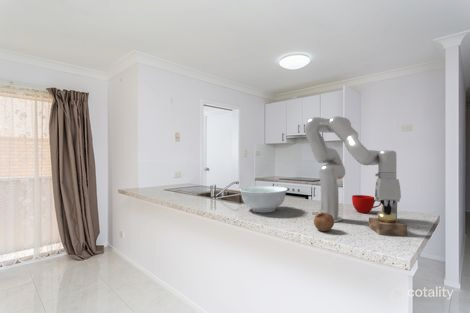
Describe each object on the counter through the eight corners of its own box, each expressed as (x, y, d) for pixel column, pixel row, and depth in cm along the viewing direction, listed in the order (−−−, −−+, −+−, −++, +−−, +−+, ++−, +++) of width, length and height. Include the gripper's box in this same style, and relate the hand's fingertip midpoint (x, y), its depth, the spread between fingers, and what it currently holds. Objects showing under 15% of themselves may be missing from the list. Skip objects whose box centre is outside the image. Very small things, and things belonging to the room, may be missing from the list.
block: (379, 234, 117) (379, 223, 117) (368, 227, 129) (368, 217, 129) (407, 235, 116) (407, 224, 116) (393, 228, 128) (393, 218, 128)
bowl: (229, 209, 171) (229, 188, 171) (262, 203, 192) (262, 184, 192) (264, 218, 147) (264, 193, 147) (297, 210, 168) (297, 188, 168)
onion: (321, 238, 121) (316, 221, 118) (313, 227, 130) (308, 211, 127) (339, 231, 121) (335, 214, 118) (330, 221, 130) (326, 205, 127)
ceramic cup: (383, 215, 153) (383, 199, 153) (352, 213, 160) (352, 197, 160) (380, 211, 165) (380, 196, 165) (351, 209, 172) (351, 194, 172)
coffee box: (381, 217, 150) (381, 190, 150) (393, 218, 148) (393, 190, 148) (384, 220, 142) (384, 192, 142) (397, 221, 140) (397, 192, 140)
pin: (381, 232, 119) (381, 215, 119) (374, 227, 127) (375, 211, 127) (399, 233, 118) (399, 215, 118) (391, 228, 126) (391, 212, 126)
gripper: (374, 176, 120) (374, 215, 120) (408, 176, 118) (408, 216, 118) (367, 175, 127) (367, 211, 127) (399, 175, 125) (399, 212, 125)
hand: (387, 213), depth 122 cm, fingers closed
